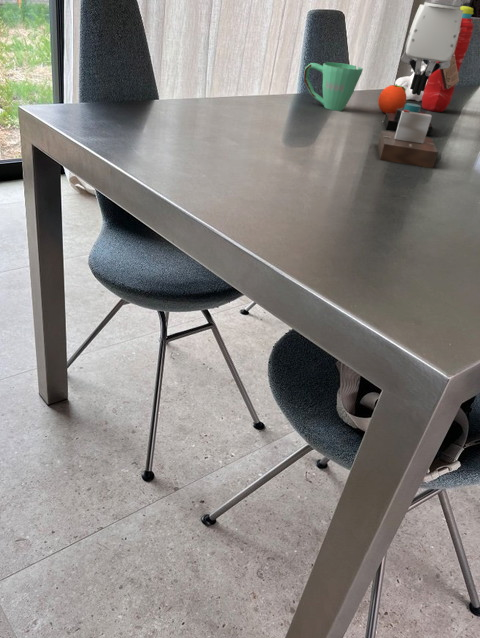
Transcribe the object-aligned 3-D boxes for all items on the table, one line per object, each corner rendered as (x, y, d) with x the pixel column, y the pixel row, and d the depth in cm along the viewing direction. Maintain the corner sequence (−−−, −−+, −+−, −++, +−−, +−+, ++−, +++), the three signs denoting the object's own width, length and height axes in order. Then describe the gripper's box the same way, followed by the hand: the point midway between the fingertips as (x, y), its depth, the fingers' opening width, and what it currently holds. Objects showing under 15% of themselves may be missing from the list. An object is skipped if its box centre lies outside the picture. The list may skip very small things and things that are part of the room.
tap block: (426, 153, 117) (431, 137, 115) (432, 168, 108) (438, 151, 106) (377, 145, 119) (382, 129, 117) (379, 160, 109) (384, 143, 107)
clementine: (390, 110, 153) (397, 81, 149) (409, 116, 149) (418, 87, 145) (369, 111, 150) (377, 81, 145) (389, 117, 145) (397, 87, 141)
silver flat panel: (422, 141, 112) (431, 113, 109) (423, 143, 110) (432, 114, 107) (394, 137, 112) (402, 109, 109) (394, 139, 111) (403, 110, 108)
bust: (428, 109, 174) (434, 74, 174) (436, 96, 166) (443, 59, 167) (388, 104, 175) (395, 68, 175) (395, 90, 168) (402, 54, 168)
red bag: (449, 117, 154) (485, 9, 140) (419, 112, 156) (451, 4, 141) (446, 109, 164) (480, 7, 149) (418, 105, 165) (448, 3, 151)
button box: (425, 128, 139) (430, 110, 136) (429, 137, 131) (435, 118, 128) (384, 121, 140) (388, 104, 138) (385, 130, 132) (391, 112, 130)
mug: (357, 110, 149) (367, 67, 143) (346, 115, 142) (356, 70, 136) (305, 99, 154) (312, 58, 148) (292, 104, 147) (300, 60, 141)
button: (417, 112, 134) (420, 104, 133) (419, 115, 131) (421, 107, 130) (402, 110, 135) (404, 102, 134) (403, 113, 132) (406, 105, 131)
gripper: (477, 3, 122) (446, 96, 133) (407, -6, 124) (382, 86, 135) (483, 5, 116) (450, 101, 127) (409, -5, 118) (383, 91, 129)
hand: (415, 93), depth 131 cm, fingers closed
